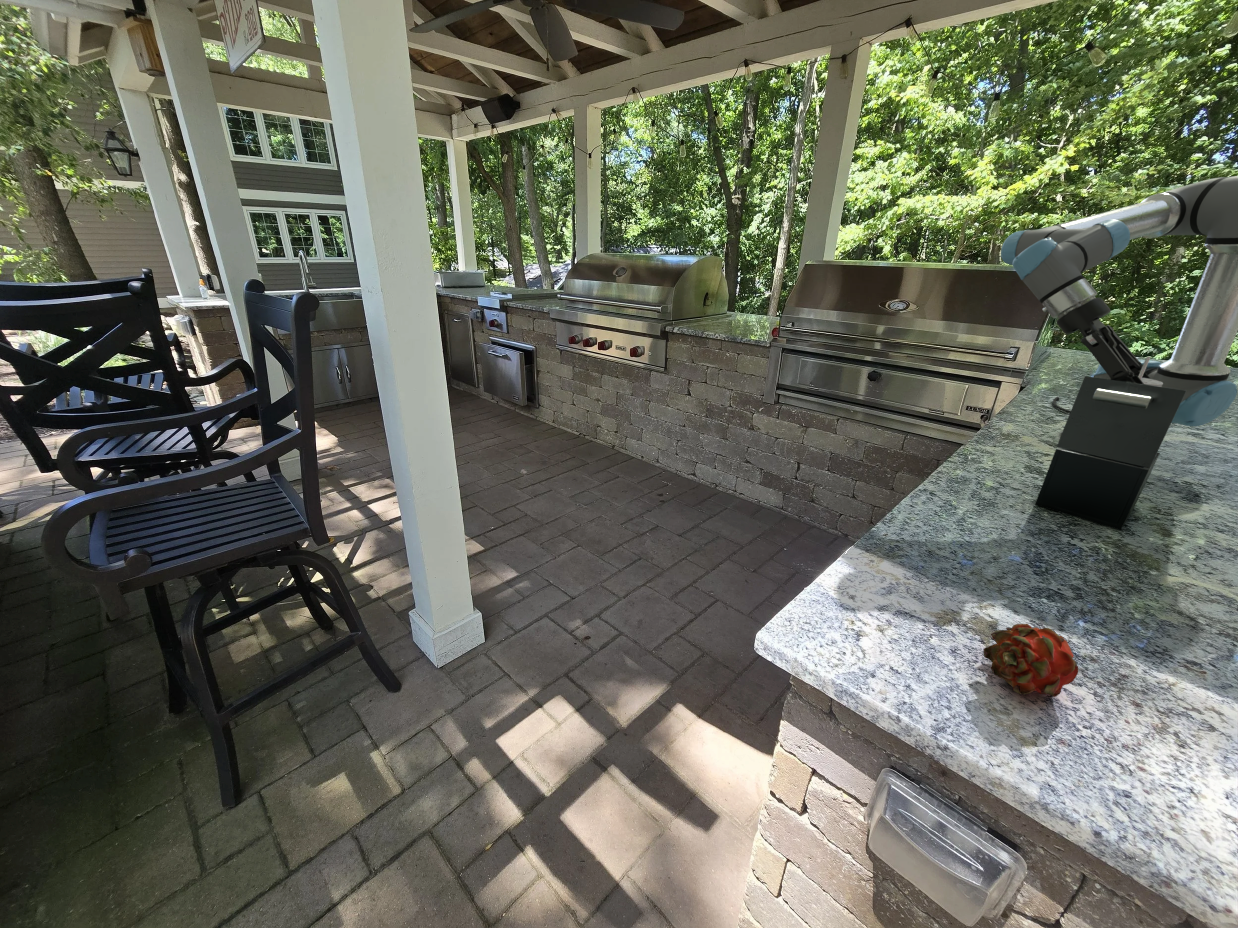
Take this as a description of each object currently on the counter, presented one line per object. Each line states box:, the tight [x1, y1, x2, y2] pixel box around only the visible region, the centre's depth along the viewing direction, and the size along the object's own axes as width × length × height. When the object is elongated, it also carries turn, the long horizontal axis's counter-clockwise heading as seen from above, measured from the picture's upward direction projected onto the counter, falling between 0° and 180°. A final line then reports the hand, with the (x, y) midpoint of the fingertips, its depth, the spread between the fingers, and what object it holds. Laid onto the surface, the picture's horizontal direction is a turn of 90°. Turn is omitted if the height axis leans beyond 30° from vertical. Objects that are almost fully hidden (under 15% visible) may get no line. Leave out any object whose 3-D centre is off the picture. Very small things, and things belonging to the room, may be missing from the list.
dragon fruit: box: [983, 623, 1079, 698], centre depth 62 cm, size 8×8×12 cm
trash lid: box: [1056, 375, 1186, 468], centre depth 91 cm, size 14×14×9 cm
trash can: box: [1034, 447, 1160, 531], centre depth 103 cm, size 14×14×13 cm
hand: (1153, 404), depth 95 cm, fingers closed on smoothie, 6 cm apart
